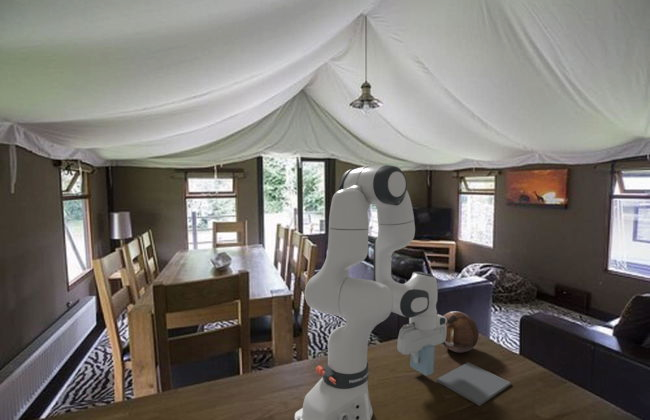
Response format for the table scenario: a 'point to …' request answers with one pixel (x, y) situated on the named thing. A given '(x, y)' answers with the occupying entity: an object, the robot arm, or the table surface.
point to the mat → (473, 383)
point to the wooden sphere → (460, 332)
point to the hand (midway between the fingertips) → (421, 360)
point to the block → (424, 360)
